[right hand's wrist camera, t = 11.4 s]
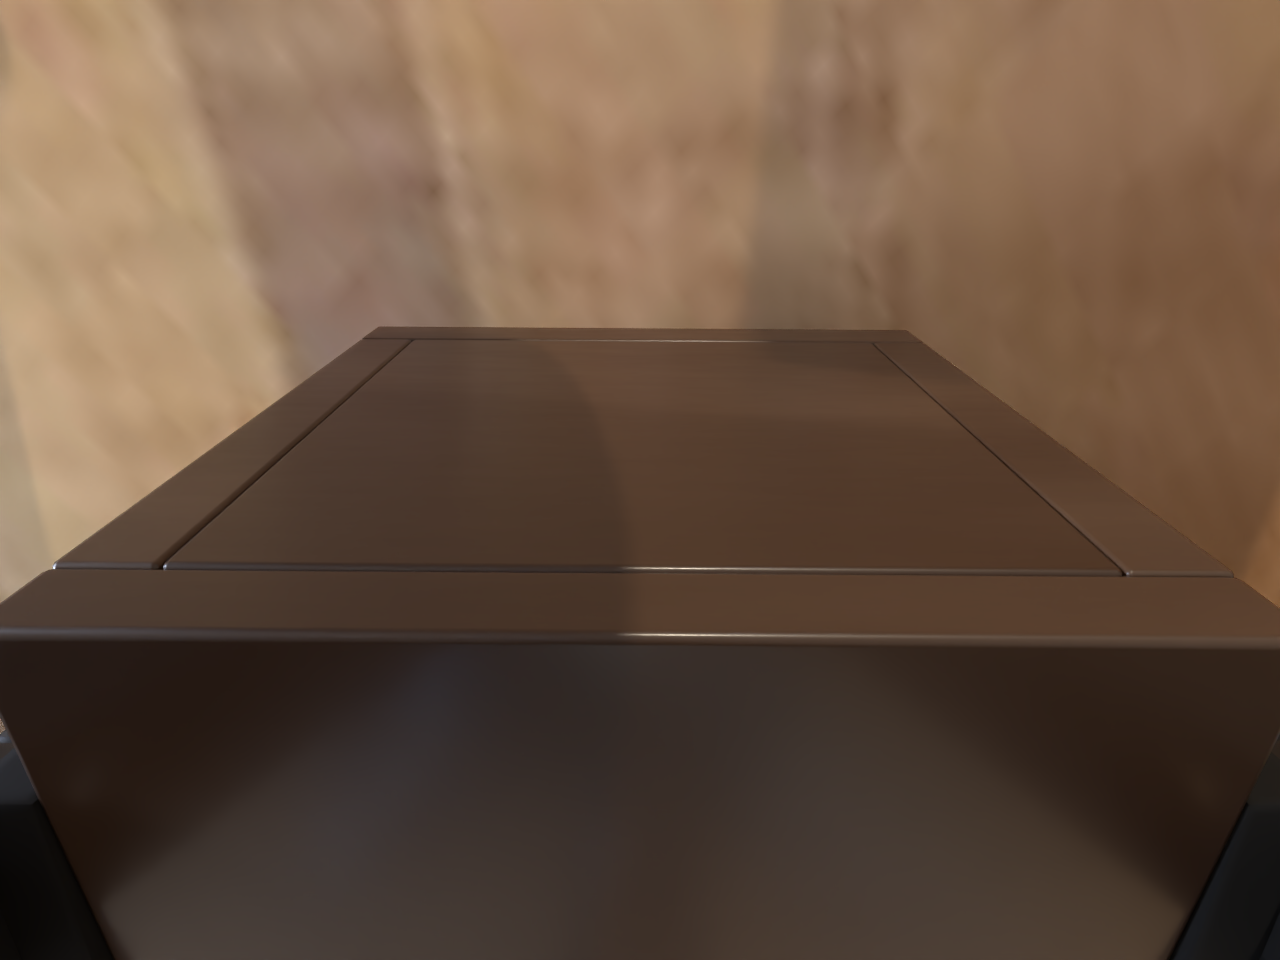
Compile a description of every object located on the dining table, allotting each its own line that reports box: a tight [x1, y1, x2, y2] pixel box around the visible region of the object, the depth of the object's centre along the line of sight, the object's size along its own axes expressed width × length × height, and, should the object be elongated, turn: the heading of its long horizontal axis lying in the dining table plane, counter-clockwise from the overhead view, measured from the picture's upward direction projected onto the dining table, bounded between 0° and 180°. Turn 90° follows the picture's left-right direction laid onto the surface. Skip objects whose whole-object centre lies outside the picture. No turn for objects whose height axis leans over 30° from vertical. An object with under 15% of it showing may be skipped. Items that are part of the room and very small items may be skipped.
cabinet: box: [0, 327, 1280, 960], centre depth 15 cm, size 22×11×11 cm, turn 179°
